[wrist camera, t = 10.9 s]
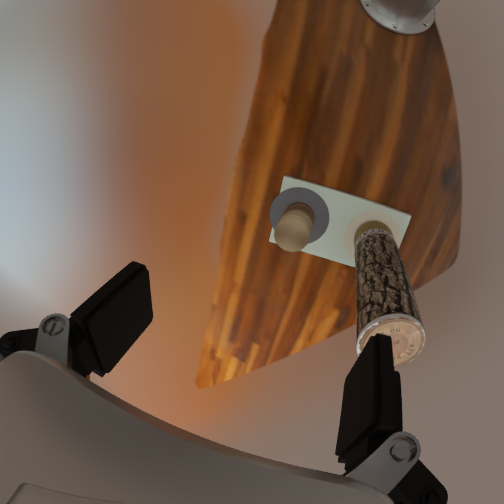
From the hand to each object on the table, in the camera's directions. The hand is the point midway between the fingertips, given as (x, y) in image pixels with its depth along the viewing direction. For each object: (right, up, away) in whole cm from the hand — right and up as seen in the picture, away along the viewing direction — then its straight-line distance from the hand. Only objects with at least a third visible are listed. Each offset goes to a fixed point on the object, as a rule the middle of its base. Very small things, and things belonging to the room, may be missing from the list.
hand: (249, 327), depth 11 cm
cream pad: (+20, +5, +35) cm, 41 cm away
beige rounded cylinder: (+8, +9, +36) cm, 38 cm away
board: (+15, +7, +36) cm, 39 cm away
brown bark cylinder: (+20, +5, +34) cm, 40 cm away
